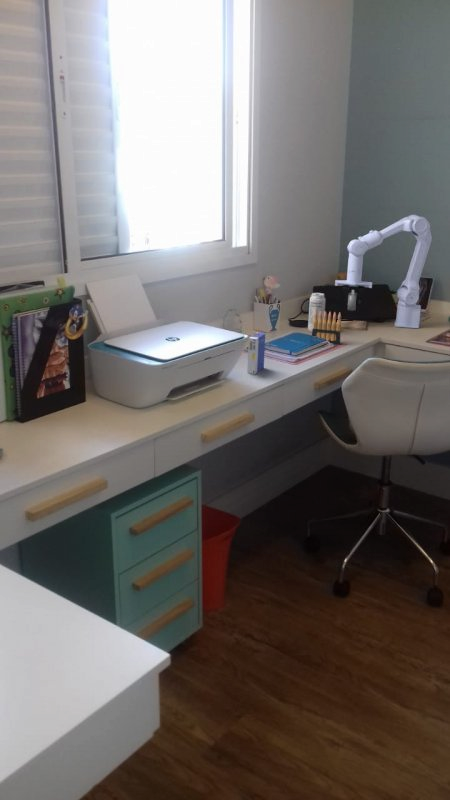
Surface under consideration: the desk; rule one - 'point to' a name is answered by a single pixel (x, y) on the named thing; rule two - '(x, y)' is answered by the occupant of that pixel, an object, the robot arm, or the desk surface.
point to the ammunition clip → (329, 331)
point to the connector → (352, 301)
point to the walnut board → (353, 325)
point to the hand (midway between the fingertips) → (351, 304)
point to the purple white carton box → (256, 353)
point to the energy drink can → (316, 308)
